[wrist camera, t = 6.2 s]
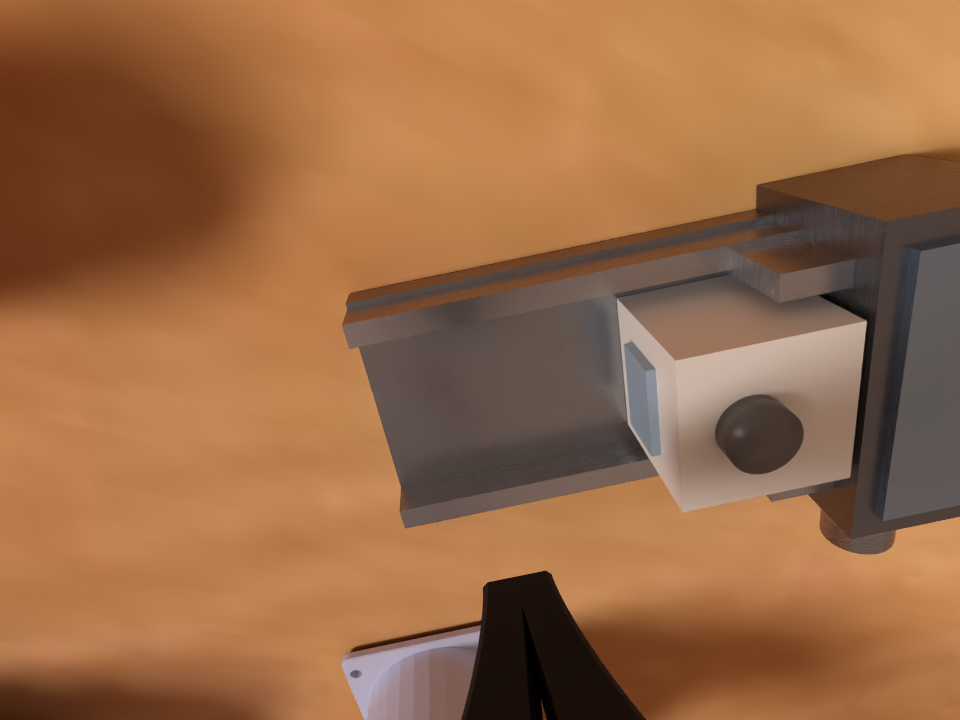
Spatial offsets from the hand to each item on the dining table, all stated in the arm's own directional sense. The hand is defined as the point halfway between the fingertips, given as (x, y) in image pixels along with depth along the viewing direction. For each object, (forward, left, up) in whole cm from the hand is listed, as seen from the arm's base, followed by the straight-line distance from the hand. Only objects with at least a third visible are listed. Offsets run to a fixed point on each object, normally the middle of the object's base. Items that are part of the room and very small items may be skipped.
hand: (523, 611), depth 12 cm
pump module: (0, -7, -9) cm, 12 cm away
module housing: (-1, -6, -10) cm, 12 cm away
